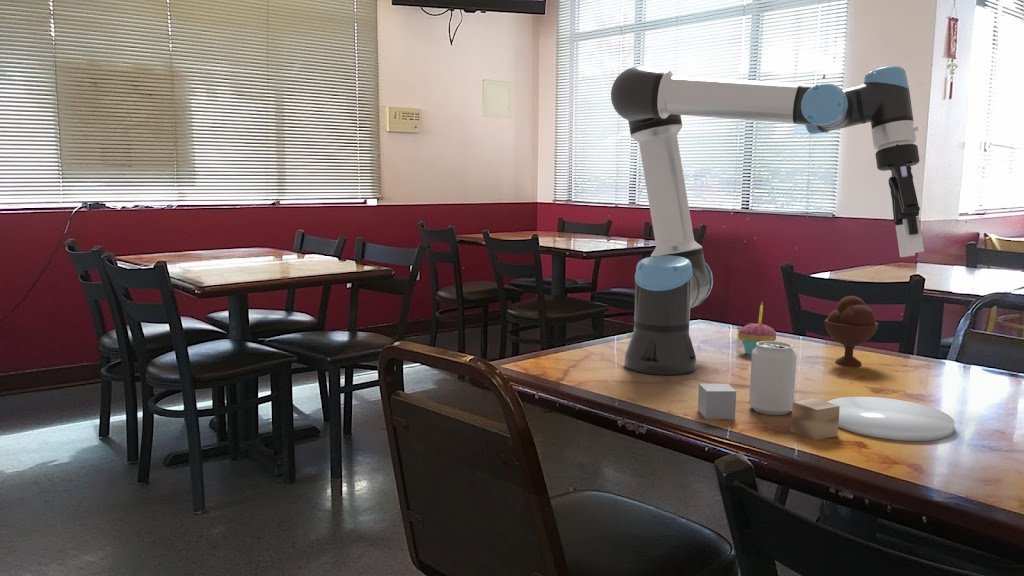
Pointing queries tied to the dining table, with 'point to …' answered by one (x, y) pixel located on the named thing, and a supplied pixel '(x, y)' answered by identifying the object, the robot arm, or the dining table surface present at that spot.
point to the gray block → (717, 401)
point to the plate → (893, 419)
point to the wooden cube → (815, 418)
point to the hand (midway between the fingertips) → (911, 254)
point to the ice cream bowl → (851, 327)
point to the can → (772, 377)
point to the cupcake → (755, 334)
